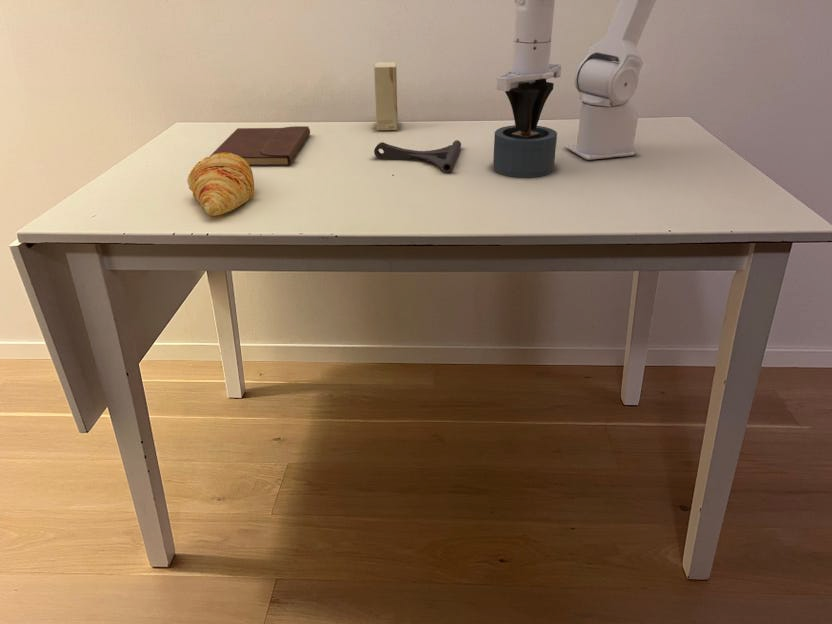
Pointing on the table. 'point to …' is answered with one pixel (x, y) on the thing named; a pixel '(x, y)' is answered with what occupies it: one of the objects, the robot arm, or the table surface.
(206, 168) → the croissant
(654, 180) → the table surface
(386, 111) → the cosmetic box
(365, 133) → the table surface
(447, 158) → the bracket
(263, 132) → the notebook
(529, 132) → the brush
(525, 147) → the jar
